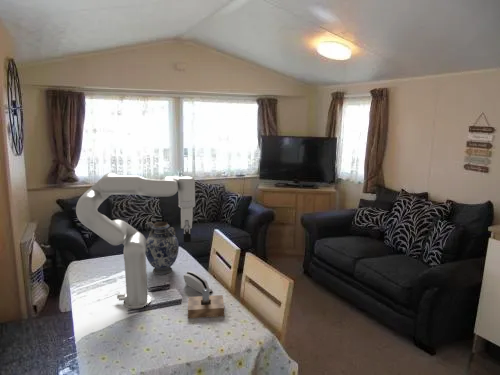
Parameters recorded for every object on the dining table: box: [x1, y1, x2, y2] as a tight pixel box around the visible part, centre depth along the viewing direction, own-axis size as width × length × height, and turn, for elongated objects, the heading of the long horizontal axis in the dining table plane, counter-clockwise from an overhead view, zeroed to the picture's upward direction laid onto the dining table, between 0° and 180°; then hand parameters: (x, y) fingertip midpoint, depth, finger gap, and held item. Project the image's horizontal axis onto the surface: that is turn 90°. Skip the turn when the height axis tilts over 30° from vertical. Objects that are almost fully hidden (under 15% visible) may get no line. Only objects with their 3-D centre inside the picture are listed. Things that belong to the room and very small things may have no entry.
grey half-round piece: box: [183, 270, 214, 294], centre depth 195 cm, size 17×5×10 cm, turn 45°
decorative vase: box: [145, 221, 180, 276], centre depth 214 cm, size 21×19×28 cm
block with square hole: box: [187, 294, 225, 319], centre depth 175 cm, size 16×12×4 cm
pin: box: [201, 289, 210, 305], centre depth 174 cm, size 3×3×10 cm
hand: (187, 238), depth 181 cm, fingers open, 9 cm apart
